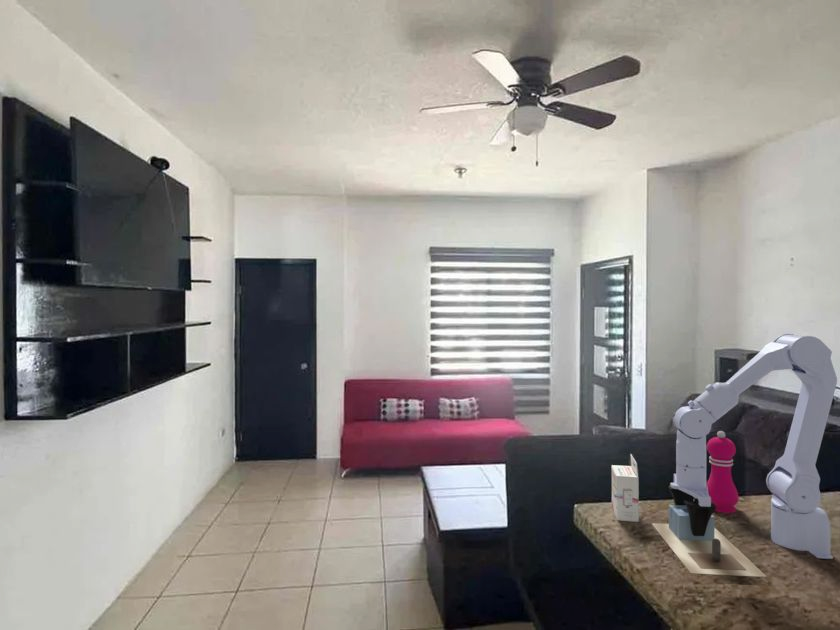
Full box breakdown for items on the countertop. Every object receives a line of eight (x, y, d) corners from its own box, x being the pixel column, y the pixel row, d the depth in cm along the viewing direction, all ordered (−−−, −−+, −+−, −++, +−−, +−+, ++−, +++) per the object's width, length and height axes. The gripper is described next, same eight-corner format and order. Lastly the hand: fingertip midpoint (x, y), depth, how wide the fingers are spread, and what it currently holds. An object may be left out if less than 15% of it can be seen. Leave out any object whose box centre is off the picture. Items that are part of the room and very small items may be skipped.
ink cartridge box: (610, 512, 128) (610, 452, 127) (632, 513, 127) (632, 453, 126) (616, 526, 119) (616, 462, 119) (639, 528, 118) (639, 463, 118)
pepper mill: (697, 508, 130) (697, 427, 129) (725, 507, 130) (725, 427, 130) (716, 520, 122) (716, 435, 122) (745, 519, 123) (746, 434, 123)
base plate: (712, 532, 116) (712, 506, 116) (766, 585, 94) (767, 552, 94) (651, 529, 118) (651, 503, 117) (690, 581, 96) (691, 549, 96)
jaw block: (702, 528, 114) (702, 506, 114) (714, 540, 108) (714, 517, 108) (668, 527, 115) (668, 504, 115) (678, 539, 109) (678, 515, 109)
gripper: (659, 453, 119) (659, 513, 119) (684, 474, 105) (684, 541, 105) (692, 454, 118) (692, 514, 119) (722, 475, 104) (721, 543, 104)
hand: (690, 527), depth 112 cm, fingers open, 7 cm apart
